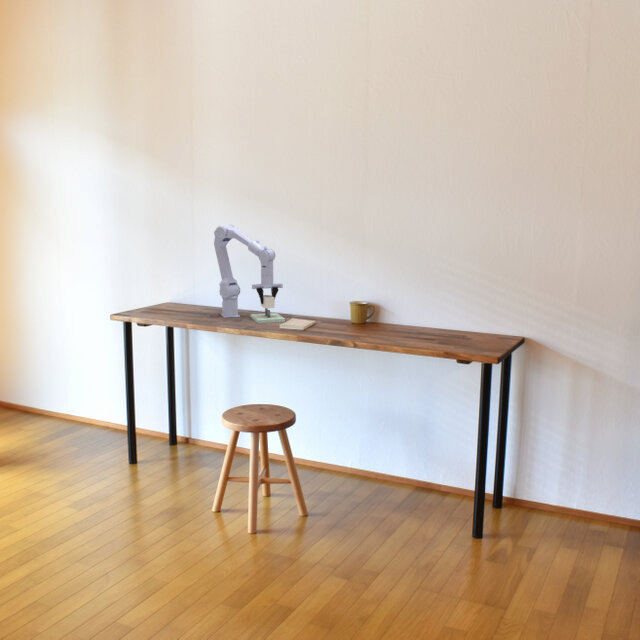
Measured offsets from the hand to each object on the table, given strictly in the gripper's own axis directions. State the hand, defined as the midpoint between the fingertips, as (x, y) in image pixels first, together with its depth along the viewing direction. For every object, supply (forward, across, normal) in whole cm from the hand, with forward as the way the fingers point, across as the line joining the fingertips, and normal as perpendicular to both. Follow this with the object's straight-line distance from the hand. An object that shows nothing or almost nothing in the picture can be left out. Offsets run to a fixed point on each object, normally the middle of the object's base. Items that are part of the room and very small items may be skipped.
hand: (267, 303), depth 372 cm
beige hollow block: (+2, 0, 0) cm, 2 cm away
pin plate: (+8, 0, 0) cm, 8 cm away
